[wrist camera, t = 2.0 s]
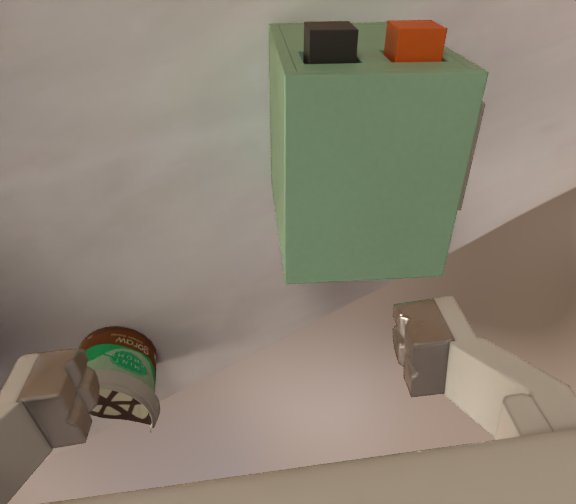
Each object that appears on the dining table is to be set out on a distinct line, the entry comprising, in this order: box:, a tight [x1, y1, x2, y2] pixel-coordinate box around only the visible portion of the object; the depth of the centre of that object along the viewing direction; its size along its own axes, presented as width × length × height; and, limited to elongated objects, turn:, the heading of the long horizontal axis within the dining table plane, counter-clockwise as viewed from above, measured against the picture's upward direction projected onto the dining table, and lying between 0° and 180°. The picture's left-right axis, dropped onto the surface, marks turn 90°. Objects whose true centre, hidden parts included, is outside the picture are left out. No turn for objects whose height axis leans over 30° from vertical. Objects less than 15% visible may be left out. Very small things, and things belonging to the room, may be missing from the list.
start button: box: [384, 20, 447, 63], centre depth 32 cm, size 3×3×3 cm
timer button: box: [303, 21, 359, 64], centre depth 31 cm, size 3×3×3 cm
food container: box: [79, 326, 160, 432], centre depth 56 cm, size 12×6×10 cm, turn 65°
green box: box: [269, 22, 488, 284], centre depth 39 cm, size 15×13×17 cm
